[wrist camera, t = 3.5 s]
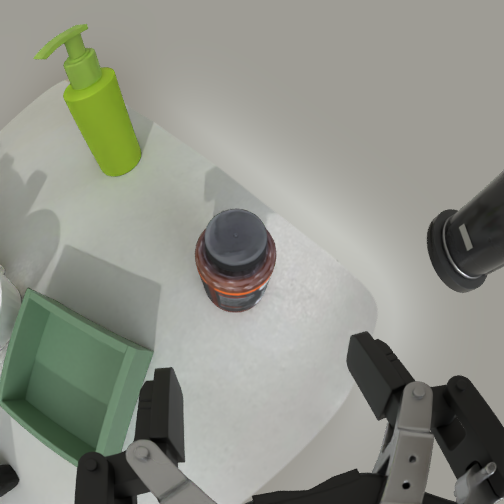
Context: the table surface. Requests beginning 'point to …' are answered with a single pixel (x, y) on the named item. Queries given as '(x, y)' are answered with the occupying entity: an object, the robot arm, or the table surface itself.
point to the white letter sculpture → (7, 307)
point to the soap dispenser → (96, 104)
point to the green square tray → (70, 379)
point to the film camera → (7, 479)
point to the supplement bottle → (235, 259)
